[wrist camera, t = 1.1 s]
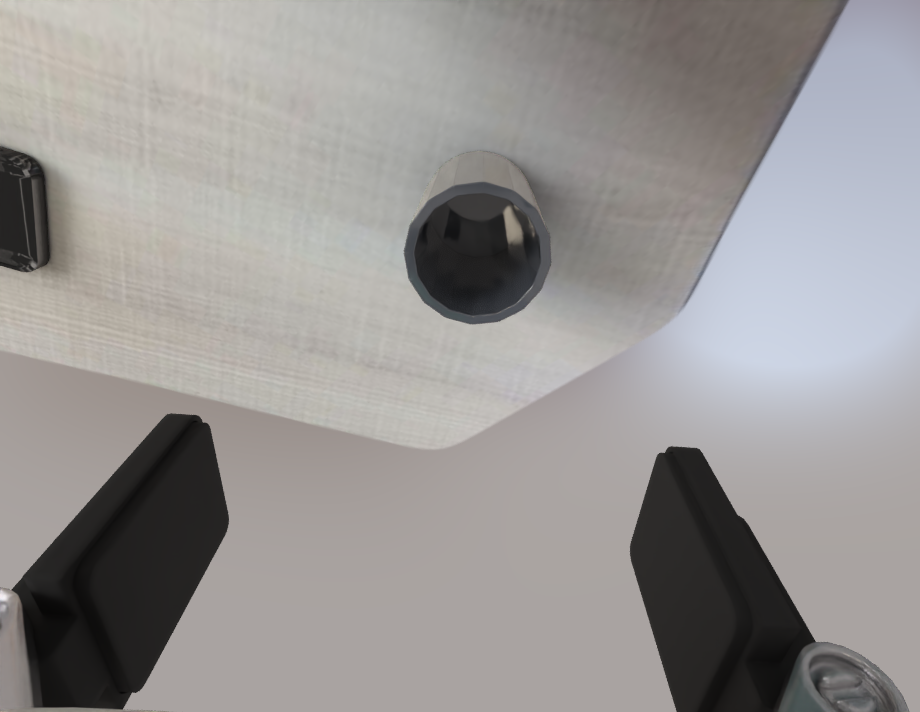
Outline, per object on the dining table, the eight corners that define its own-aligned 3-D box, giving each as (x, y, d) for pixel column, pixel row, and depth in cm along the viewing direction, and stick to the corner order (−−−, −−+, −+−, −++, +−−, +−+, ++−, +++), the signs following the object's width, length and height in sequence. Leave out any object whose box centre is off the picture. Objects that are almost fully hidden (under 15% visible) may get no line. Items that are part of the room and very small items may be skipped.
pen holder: (413, 245, 36) (391, 304, 27) (439, 136, 33) (423, 164, 24) (513, 272, 36) (523, 338, 28) (548, 169, 33) (572, 207, 24)
